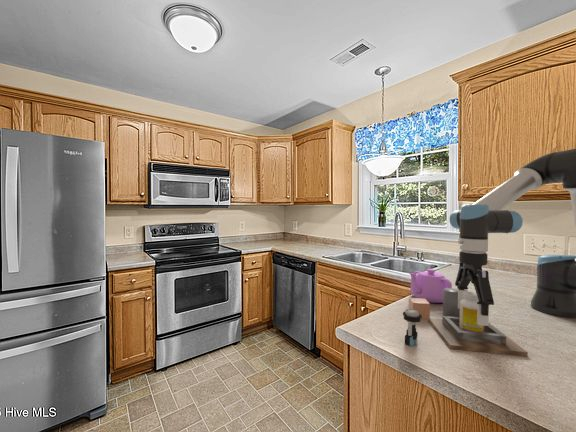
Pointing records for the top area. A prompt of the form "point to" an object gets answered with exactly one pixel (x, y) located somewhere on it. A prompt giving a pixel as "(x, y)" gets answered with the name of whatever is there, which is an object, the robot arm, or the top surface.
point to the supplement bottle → (469, 313)
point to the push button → (411, 326)
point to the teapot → (429, 285)
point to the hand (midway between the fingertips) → (471, 316)
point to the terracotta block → (420, 306)
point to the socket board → (475, 338)
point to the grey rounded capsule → (450, 302)
